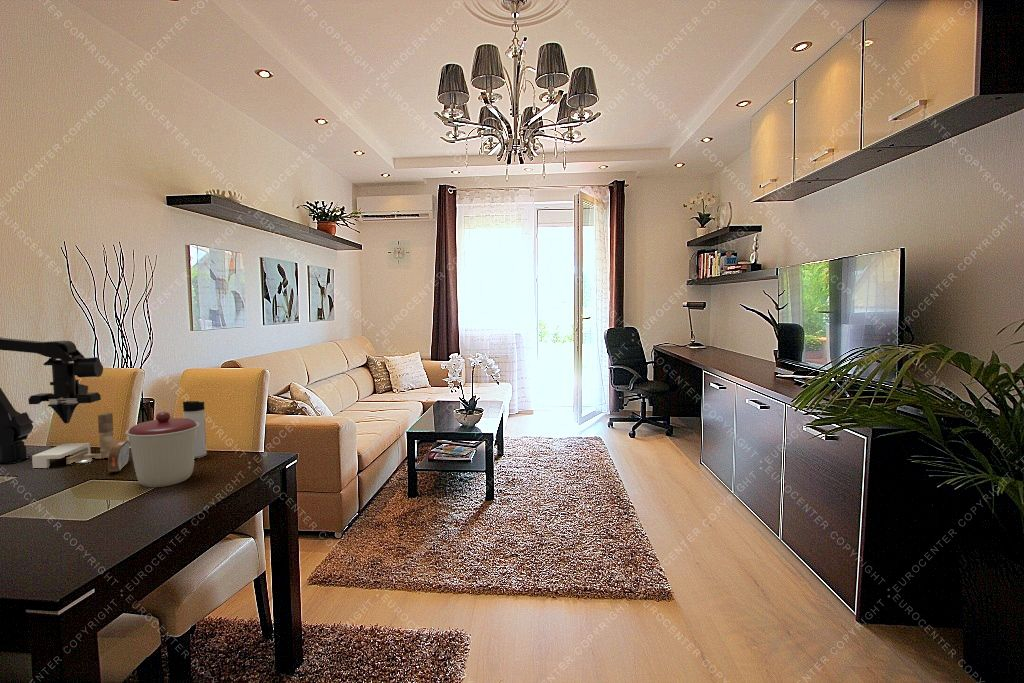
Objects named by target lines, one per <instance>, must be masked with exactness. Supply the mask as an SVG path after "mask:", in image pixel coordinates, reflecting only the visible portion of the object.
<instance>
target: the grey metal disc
mask: <svg viewBox="0 0 1024 683" xmlns="http://www.w3.org/2000/svg"><path fill="white" fill-rule="evenodd" d="M92 460H93V459H92V458H82V459H78V460H75V463H88V462H91V461H92ZM75 463H74V464H75Z"/></svg>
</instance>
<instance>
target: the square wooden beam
mask: <svg viewBox="0 0 1024 683" xmlns="http://www.w3.org/2000/svg"><path fill="white" fill-rule="evenodd" d="M97 423H98V434H99V448H100V449H99V451H100V453H91V454H87V451H82V452H80V453H78V454H75V455H73V456H70V457H65V458H66V460H65V461H66V462H65V463H66V465H67V464H71V463H73V462H75V460H78V459H82V458H95V459H101V460H103V459H104V458H108V456H109V451H110V449H111V447H112V446H113V445H114V444H115V442H114V418H113V412H110V413H109V412H105V413H101V414H97ZM102 458H103V459H102ZM71 465H72V464H71Z"/></svg>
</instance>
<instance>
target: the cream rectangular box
mask: <svg viewBox="0 0 1024 683" xmlns="http://www.w3.org/2000/svg"><path fill="white" fill-rule="evenodd" d="M82 451H87V454H92V452H91V442H74V443H73V442H72V443H71V442H70V443H62V444H59V445H57V446H55V447H51V448H49V449H47V450H44V451H41V452H39V453H38V452H37V453H35V454H33V455H31V459H32V460H31V462H32V469H33V468H47V467H49V466H50V465H51V464H50V460H57V459H58V460H59V459H63V458H66V457H65V456H68V455H75V454H78V453H80V452H82ZM50 467H51V466H50Z"/></svg>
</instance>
